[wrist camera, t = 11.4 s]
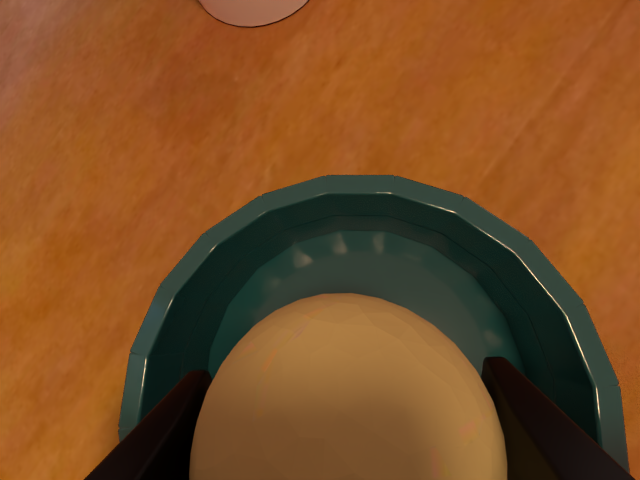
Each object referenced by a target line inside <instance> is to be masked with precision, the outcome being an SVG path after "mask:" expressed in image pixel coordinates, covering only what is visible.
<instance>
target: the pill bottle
mask: <svg viewBox="0 0 640 480" xmlns="http://www.w3.org/2000/svg"><path fill="white" fill-rule="evenodd" d="M307 1H308V0H199V2H200V4H201V5H202V6H203V7H204V8H205V10H206V11H207V12H208V13H210V14H211V15H212V16H213V17H215V18H216V19H219V20H221V21H223V22H225V23H228V24H232V25H237V26H251V27H252V26H259V25H266V24H269V23H272V22H276V21H279V20H281V19H283V18H285V17H287V16H289V15H291V14H292V13H294V12H295V11H296V10H298V9H299V8H301V7H302V6H303V5H304V4H305V3H306V2H307Z"/></svg>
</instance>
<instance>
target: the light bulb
mask: <svg viewBox="0 0 640 480" xmlns="http://www.w3.org/2000/svg"><path fill="white" fill-rule="evenodd" d="M189 480H507V457H506V448H505V440H504V434H503V431H502V428H501V424H500V421H499V418H498V415H497V412H496V408H495V405H494V402H493V400H492V398H491V396H490V395H489V393H488V391H487V389H486V387H485V385H484V383H483V382H482V380H481V378H480V376H479V374H478V372H477V371H476V369H475V368H474V367H473V365H472V364H471V363H470V362H469V360H468V359H467V358H466V357H465V355H464V354H463V353H462V352H461V351H460V349H459V348H458V347H457V346H456V344H455V343H454V342H452V341H451V340H450V339H449V338H448V337H447V336H446V335H444V334H443V333H442V332H441V331H440V330H439V329H437V328H436V327H435V326H434V325H433V324H431V323H430V322H428V321H426V320H425V319H423V318H421V317H420V316H418V315H416V314H415V313H413V312H411V311H410V310H408V309H406V308H404V307H401V306H399V305H396V304H393V303H391V302H388V301H386V300H383V299H380V298H376V297H371V296H365V295H360V294H354V293H333V294H320V295H316V296H312V297H308V298H304V299H300V300H297V301H295V302H293V303H291V304H288V305H286V306H284V307H282V308H280V309H278V310H275V311H274V312H272V313H271V314H270V315H268V316H267V317H265V318H264V319H263V320H261V321H260V322H258V323H257V324H256V325H255V326H254V327H252V328H251V329H250V331H249V332H248V333H247V334H246V335H245V336H244V337H243V338H242V339H241V340H240V341H239V342H238V343H237V344H236V346H235V347H234V348H233V349H232V351H231V352H230V353H229V355H228V356H227V357H226V359H225V360H224V362H223V363H222V364H221V366H220V368H219V370H218V372H217V374H216V375H215V377H214V379H213V381H212V383H211V385H210V387H209V389H208V391H207V393H206V396H205V399H204V402H203V405H202V408H201V410H200V413H199V416H198V419H197V423H196V427H195V432H194V437H193V443H192V449H191V454H190V468H189Z"/></svg>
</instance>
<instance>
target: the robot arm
mask: <svg viewBox="0 0 640 480" xmlns="http://www.w3.org/2000/svg"><path fill="white" fill-rule="evenodd" d="M481 380H482V382H483V383H484V385H485V387H486V389H487V391H488V393H489V395H490V396H491V398H492V400H493V402H494V405H495V408H496V412H497V415H498V418H499V421H500V424H501V428H502V431H503V434H504V440H505V448H506V457H507V480H635V479H634V478H633V477H632V476H631V475H630V474H629V473H628V472H627V471H626V470H625V469H624V468H623V467H621V466H620V465H619V464H618V463H617V462H616V461H615V460H614V459H613V458H612V457H611V456H610V455H609V454H608V453H607V452H605V451H604V450H603V449H602V448H601V447H600V446H599V445H598V444H597V443H596V442H595V441H594V440H593V439H592V438H590V437H589V436H588V435H587V434H586V433H585V432H584V431H583V430H582V429H581V428H580V427H579V426H578V425H577V424H576V423H574V422H573V421H572V420H571V419H570V418H569V417H568V416H567V415H566V414H565V413H564V412H563V411H562V410H561V409H559V408H558V407H557V406H556V405H555V404H554V403H553V402H552V401H551V400H550V399H549V398H548V397H547V396H546V395H545V394H543V393H542V392H541V391H540V390H539V389H538V388H537V387H536V386H535V385H534V384H533V383H532V382H531V381H530V380H528V379H527V378H526V377H525V376H524V375H523V374H522V373H521V372H520V371H519V370H518V369H517V368H516V367H515V366H514V365H512V364H511V363H510V362H509V361H508V360H507V359H506V358H504V357H502V356H495V357H485V358H484V360H483V366H482V374H481ZM212 381H213V380H212V377H211V375H210V373H209V371H208V370H205V369H203V370H192V371H190V372H188V373H187V374H186V375H185V376H184V377H183V378H182V380H181V381H180V382H179V383H178V384H177V385H176V386H175V387H174V388H173V389H172V390H171V391H170V392H169V393H168V394H167V395H166V396H165V397H164V398H163V399H162V400H161V401H160V402H159V403H158V404H157V405H156V406H155V407H154V408H153V409H152V410H151V411H150V412H149V413H148V414H147V415H146V416H145V417H144V418H143V419H142V421H141V422H140V423H139V424H138V425H137V426H136V427H135V428H134V429H133V430H132V431H131V432H130V433H129V434H128V435H127V436H126V437H125V438H124V439H123V440H122V441H121V442H120V443H119V444H118V445H117V446H116V447H115V448H114V449H113V450H112V451H111V452H110V453H109V454H108V455H107V456H106V457H105V458H104V459H103V461H102V462H101V463H100V464H99V465H98V466H97V467H96V468H95V469H94V470H93V471H92V472H91V473H90V474H89V475H88V476H87V477H86V478H85V479H84V480H189V468H190V454H191V449H192V443H193V437H194V432H195V427H196V423H197V419H198V416H199V413H200V410H201V408H202V405H203V402H204V399H205V396H206V393H207V391H208V389H209V387H210V385H211V383H212Z"/></svg>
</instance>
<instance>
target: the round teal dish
mask: <svg viewBox="0 0 640 480" xmlns="http://www.w3.org/2000/svg"><path fill="white" fill-rule="evenodd" d="M333 293H354V294H360V295H365V296H371V297H376V298H380V299H383V300H386V301H388V302H391V303H393V304H396V305H399V306H401V307H404V308H406V309H408V310H410V311H411V312H413V313H415V314H416V315H418V316H420V317H421V318H423V319H425V320H426V321H428V322H430V323H431V324H433V325H434V326H435V327H436V328H437V329H439V330H440V331H441V332H442V333H443V334H444V335H446V336H447V337H448V338H449V339H450V340H451V341H452V342H454V343H455V344H456V346H457V347H458V348H459V349H460V351H461V352H462V353H463V354H464V355H465V357H466V358H467V359H468V360H469V362H470V363H471V364H472V365H473V367H474V368H475V369H476V371H477V372H478V374H479V376H480V378H481V374H482V366H483V360H484V358H485V357H495V356H502V357H504V358H506V359H507V360H508V361H509V362H510V363H511V364H512V365H514V366H515V367H516V368H517V369H518V370H519V371H520V372H521V373H522V374H523V375H524V376H525V377H526V378H527V379H528V380H530V381H531V382H532V383H533V384H534V385H535V386H536V387H537V388H538V389H539V390H540V391H541V392H542V393H543V394H545V395H546V396H547V397H548V398H549V399H550V400H551V401H552V402H553V403H554V404H555V405H556V406H557V407H558V408H559V409H561V410H562V411H563V412H564V413H565V414H566V415H567V416H568V417H569V418H570V419H571V420H572V421H573V422H574V423H576V424H577V425H578V426H579V427H580V428H581V429H582V430H583V431H584V432H585V433H586V434H587V435H588V436H589V437H590V438H592V439H593V440H594V441H595V442H596V443H597V444H598V445H599V446H600V447H601V448H602V449H603V450H604V451H605V452H607V453H608V454H609V455H610V456H611V457H612V458H613V459H614V460H615V461H616V462H617V463H618V464H619V465H620V466H621V467H623V468H624V469H625V470H626V471H627V472H628V473H629V474H630V471H629V462H628V452H627V443H626V434H625V425H624V416H623V407H622V397H621V389H620V386H618V384H619V381H618V379H617V377H616V374H615V372H614V370H613V368H612V365H611V363H610V361H609V358H608V356H607V354H606V352H605V349H604V347H603V345H602V342H601V340H600V338H599V336H598V333H597V331H596V329H595V326H594V324H593V322H592V320H591V317H590V315H589V313H588V310H587V308H586V306H585V305H584V304H583V303H584V302H583V300H582V299H581V298H580V297H579V296H578V294H577V293H576V292H575V291H574V290H573V289H572V287H571V286H570V285H569V284H568V283H567V282H566V280H565V279H564V278H563V277H562V276H561V274H560V273H559V272H558V271H557V270H556V269H555V267H554V266H553V265H552V264H551V263H550V261H549V260H548V259H547V258H546V257H545V256H544V254H543V253H542V252H541V251H540V250H539V248H538V247H537V246H536V245H535V244H534V243H533V241H532V240H529V238H528V237H527V236H525V235H524V234H522V233H521V232H519V231H517V230H516V229H514V228H513V227H511V226H510V225H508V224H507V223H505V222H504V221H502V220H501V219H499V218H498V217H496V216H495V215H493V214H492V213H490V212H488V211H487V210H485V209H484V208H482V207H481V206H479V205H478V204H476V203H475V202H473V201H472V200H470V199H469V198H467V197H464V196H462V195H459V194H456V193H453V192H449V191H446V190H443V189H439V188H436V187H433V186H429V185H426V184H423V183H419V182H416V181H413V180H409V179H406V178H403V177H399V176H394V175H326V177H325V176H321V177H318V178H315V179H311V180H308V181H305V182H301V183H298V184H295V185H291V186H288V187H285V188H282V189H278V190H275V191H272V192H268V193H265V194H262V196H258V197H257V198H255V199H254V200H252V201H251V202H249V203H248V204H246V205H245V206H243V207H242V208H240V209H239V210H237V211H236V212H234V213H233V214H231V215H230V216H228V217H227V218H225V219H224V220H222V221H221V222H219V223H218V224H216V225H215V226H213V227H212V228H210V229H209V230H207V231H206V232H205V233H203V234H202V235H201V236H200V238H199V239H198V240H197V241H196V242H195V244H194V245H193V246H192V247H191V248H190V249H189V251H188V252H187V253H186V254H185V255H184V257H183V258H182V259H181V260H180V261H179V263H178V264H177V265H176V266H175V267H174V268H173V270H172V271H171V272H170V273H169V274H168V276H167V277H166V278H165V279H164V280H163V282H162V283H161V284H160V286H159V287H158V290H157V292H156V294H155V296H154V298H153V301H152V303H151V305H150V307H149V310H148V312H147V314H146V316H145V318H144V321H143V323H142V325H141V327H140V330H139V332H138V334H137V336H136V338H135V341H134V343H133V345H132V347H131V350H130V352H131V353H130V354H129V359H128V366H127V373H126V379H125V386H124V392H123V399H122V405H121V412H120V419H119V425H118V426H119V428H120V429H119V430H118V433H119V442H121V441H122V440H123V439H124V438H125V437H126V436H127V435H128V434H129V433H130V432H131V431H132V430H133V429H134V428H135V427H136V426H137V425H138V424H139V423H140V422H141V421H142V419H143V418H144V417H145V416H146V415H147V414H148V413H149V412H150V411H151V410H152V409H153V408H154V407H155V406H156V405H157V404H158V403H159V402H160V401H161V400H162V399H163V398H164V397H165V396H166V395H167V394H168V393H169V392H170V391H171V390H172V389H173V388H174V387H175V386H176V385H177V384H178V383H179V382H180V381H181V380H182V378H183V377H184V376H185V375H186V374H187V373H188V372H190V371H192V370H203V369H205V370H208V371H209V373H210V375H211V377H212V380H213V379H214V377H215V375H216V374H217V372H218V370H219V368H220V366H221V364H222V363H223V362H224V360H225V359H226V357H227V356H228V355H229V353H230V352H231V351H232V349H233V348H234V347H235V346H236V344H237V343H238V342H239V341H240V340H241V339H242V338H243V337H244V336H245V335H246V334H247V333H248V332H249V331H250V329H251V328H252V327H254V326H255V325H256V324H257V323H258V322H260V321H261V320H263V319H264V318H265V317H267V316H268V315H270V314H271V313H272V312H274V311H275V310H278V309H280V308H282V307H284V306H286V305H288V304H291V303H293V302H295V301H297V300H300V299H304V298H308V297H312V296H316V295H320V294H333Z"/></svg>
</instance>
